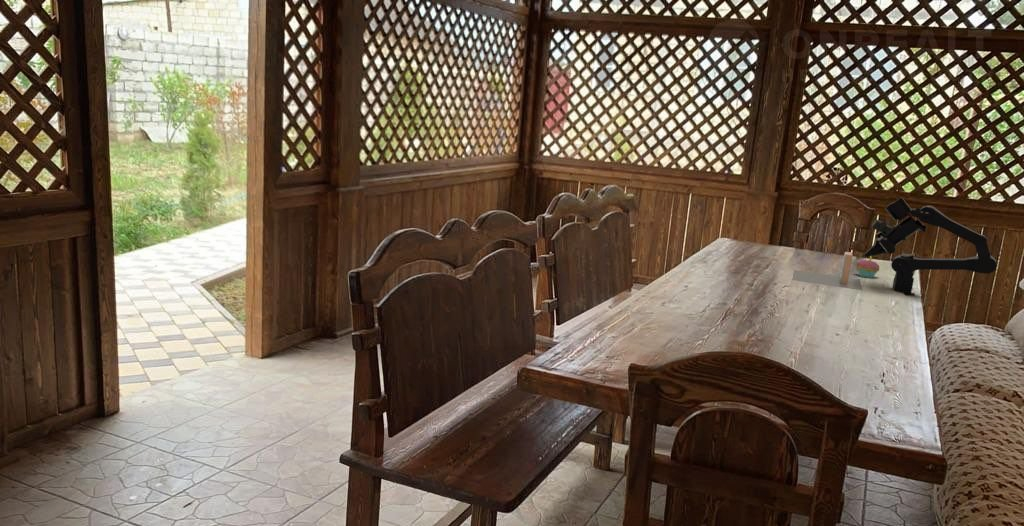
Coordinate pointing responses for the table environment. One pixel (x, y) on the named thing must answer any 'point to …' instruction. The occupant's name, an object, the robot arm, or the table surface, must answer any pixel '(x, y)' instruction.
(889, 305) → the table surface
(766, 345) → the table surface
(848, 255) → the tile
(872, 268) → the cupcake
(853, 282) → the board
